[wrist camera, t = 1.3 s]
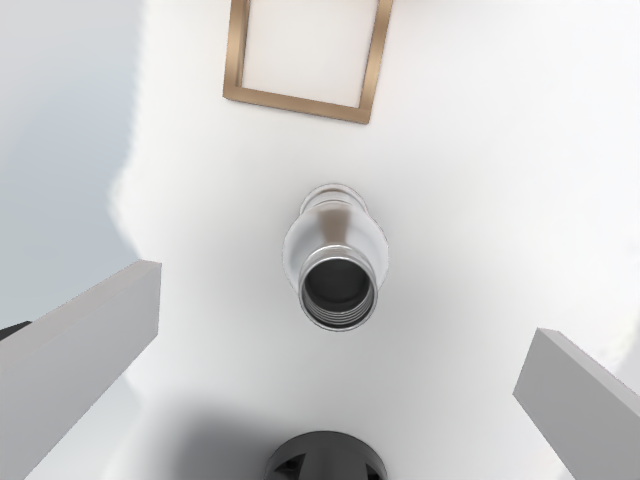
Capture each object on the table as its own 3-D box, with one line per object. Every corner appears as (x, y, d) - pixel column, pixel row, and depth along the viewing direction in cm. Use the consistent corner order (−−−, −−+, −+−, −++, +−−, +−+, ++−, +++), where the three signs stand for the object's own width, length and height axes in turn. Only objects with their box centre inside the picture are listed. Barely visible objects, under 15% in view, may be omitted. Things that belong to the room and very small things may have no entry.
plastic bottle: (314, 255, 36) (297, 378, 17) (291, 193, 35) (242, 250, 15) (374, 235, 35) (429, 338, 16) (353, 171, 34) (384, 199, 15)
